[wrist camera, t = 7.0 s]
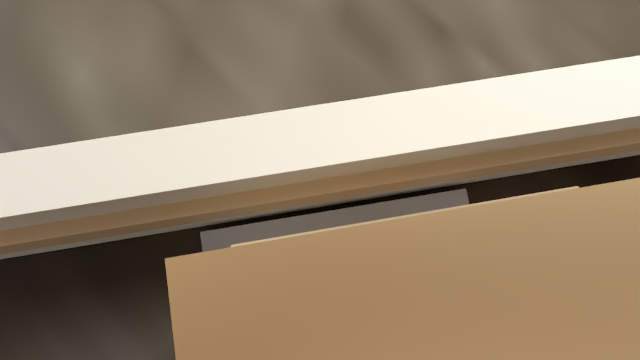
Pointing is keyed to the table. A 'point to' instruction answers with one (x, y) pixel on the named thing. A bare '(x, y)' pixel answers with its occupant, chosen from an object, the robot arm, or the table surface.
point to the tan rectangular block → (426, 285)
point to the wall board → (317, 160)
